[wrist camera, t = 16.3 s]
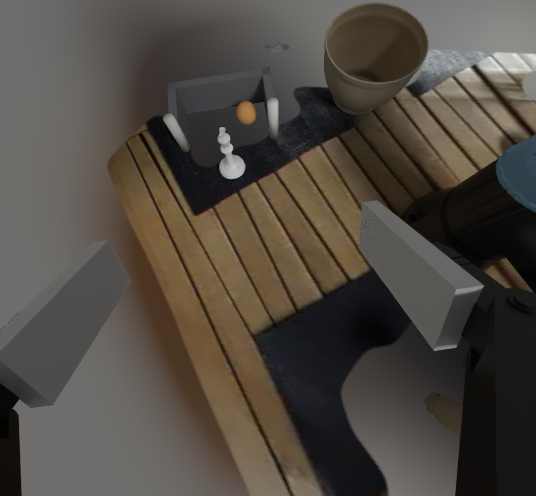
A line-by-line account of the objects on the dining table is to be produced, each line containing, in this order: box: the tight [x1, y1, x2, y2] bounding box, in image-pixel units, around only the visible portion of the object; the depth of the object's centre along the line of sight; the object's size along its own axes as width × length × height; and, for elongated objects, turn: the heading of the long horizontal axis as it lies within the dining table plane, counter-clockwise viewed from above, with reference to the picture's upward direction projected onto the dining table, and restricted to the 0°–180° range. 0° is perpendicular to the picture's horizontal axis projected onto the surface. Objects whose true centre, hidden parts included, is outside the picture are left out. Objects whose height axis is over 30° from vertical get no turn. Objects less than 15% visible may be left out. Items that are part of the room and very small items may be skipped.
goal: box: [163, 67, 278, 152], centre depth 46 cm, size 10×19×8 cm, turn 98°
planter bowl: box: [324, 3, 429, 115], centre depth 44 cm, size 16×16×11 cm
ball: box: [236, 101, 257, 125], centre depth 47 cm, size 4×4×4 cm
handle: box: [425, 393, 463, 438], centre depth 30 cm, size 5×6×15 cm
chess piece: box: [218, 127, 245, 179], centre depth 42 cm, size 5×5×10 cm
